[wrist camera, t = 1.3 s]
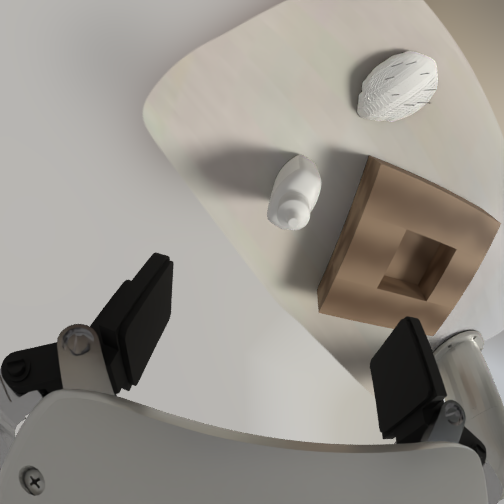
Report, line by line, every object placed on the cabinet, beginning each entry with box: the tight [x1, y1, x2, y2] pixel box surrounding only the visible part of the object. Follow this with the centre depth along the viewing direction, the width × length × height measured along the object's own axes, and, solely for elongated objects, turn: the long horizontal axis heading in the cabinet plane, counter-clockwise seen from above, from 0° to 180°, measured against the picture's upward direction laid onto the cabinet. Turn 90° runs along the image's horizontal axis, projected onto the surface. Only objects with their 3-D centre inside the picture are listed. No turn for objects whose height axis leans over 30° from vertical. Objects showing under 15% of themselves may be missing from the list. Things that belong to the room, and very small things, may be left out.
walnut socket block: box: [317, 156, 501, 336], centre depth 29 cm, size 18×18×4 cm
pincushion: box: [357, 51, 438, 122], centre depth 20 cm, size 12×6×6 cm, turn 133°
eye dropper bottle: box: [267, 155, 321, 230], centre depth 24 cm, size 4×6×12 cm
